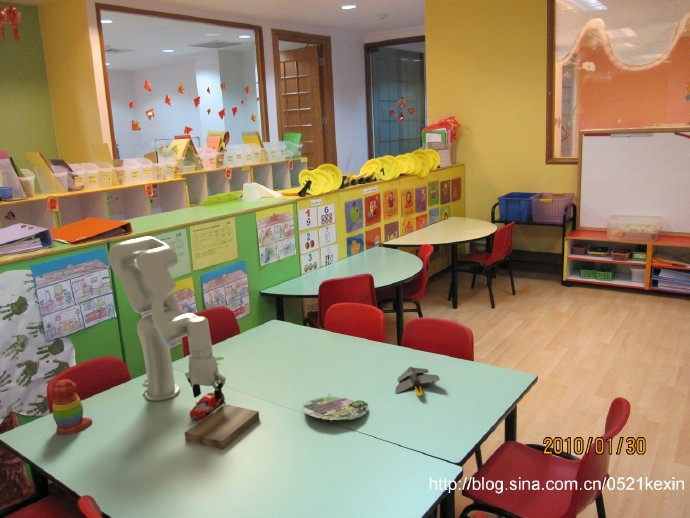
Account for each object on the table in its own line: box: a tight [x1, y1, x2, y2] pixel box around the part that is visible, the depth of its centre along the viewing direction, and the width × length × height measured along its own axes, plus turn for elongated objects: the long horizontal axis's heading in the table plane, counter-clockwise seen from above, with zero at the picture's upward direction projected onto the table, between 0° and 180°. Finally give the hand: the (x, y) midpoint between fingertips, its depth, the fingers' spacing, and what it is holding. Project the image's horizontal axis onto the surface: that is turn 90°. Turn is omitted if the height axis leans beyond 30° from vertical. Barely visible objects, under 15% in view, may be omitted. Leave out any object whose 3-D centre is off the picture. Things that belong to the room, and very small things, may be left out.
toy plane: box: [394, 366, 441, 398], centre depth 215 cm, size 25×17×5 cm
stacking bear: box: [52, 378, 93, 436], centre depth 197 cm, size 11×10×18 cm
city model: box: [301, 393, 369, 424], centre depth 199 cm, size 25×23×6 cm
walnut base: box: [184, 403, 260, 451], centre depth 192 cm, size 15×20×3 cm
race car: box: [189, 391, 226, 421], centre depth 205 cm, size 16×7×5 cm, turn 159°
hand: (208, 397), depth 204 cm, fingers open, 9 cm apart
